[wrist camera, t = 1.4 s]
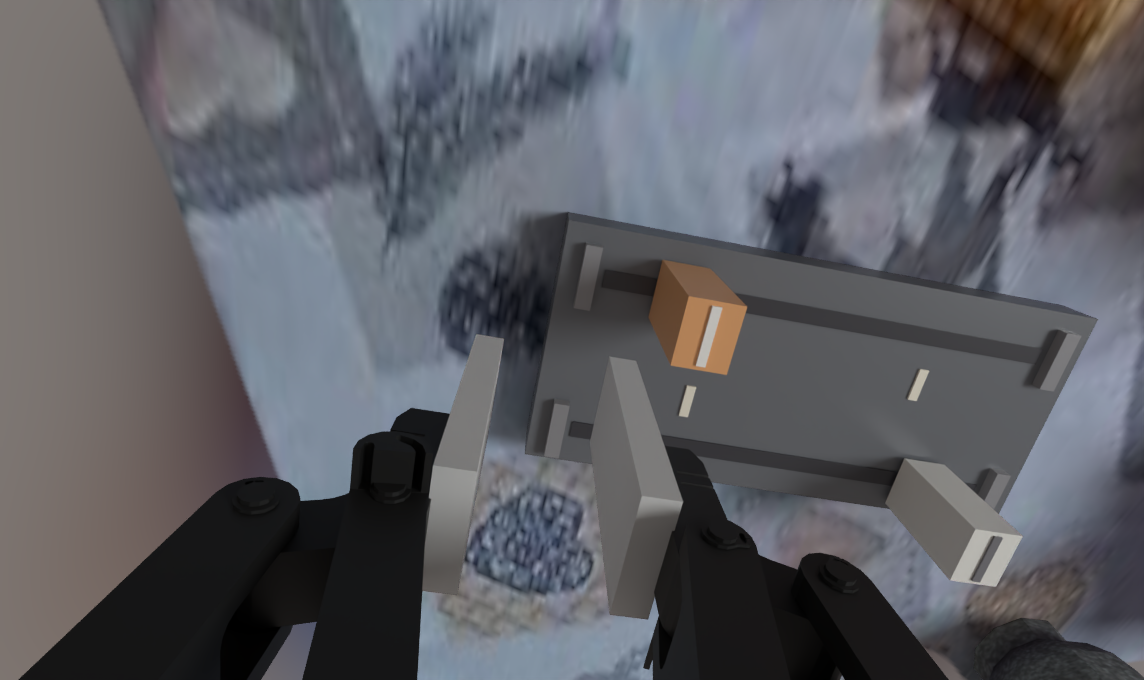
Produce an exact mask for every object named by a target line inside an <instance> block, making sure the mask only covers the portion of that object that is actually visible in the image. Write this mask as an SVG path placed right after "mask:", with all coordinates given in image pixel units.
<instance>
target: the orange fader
mask: <svg viewBox="0 0 1144 680" xmlns="http://www.w3.org/2000/svg"><path fill="white" fill-rule="evenodd" d="M746 310H747V306H746V305H745V304H744V303H743V302H742V301H741V300H740V299H739V298H738V296H737V295H736V294H735V293H734V292H733V291H732V290H731V289H730V288H729V287H728V286H727V285H726V284H725V283H724V282H723V281H722V280H721V279H720V278H719V277H718V276H717V275H716V274H715V273H714V272H713V271H712V270H711V269H710V268H705V267H700V266H694V265H689V264H683V263H678V262H672V261H667V260H662V264H661V268H660V272H659V276H658V280H657V284H656V288H655V292H654V297H653V301H652V305H651V309H650V313H649V317H648V318H649V320H650V322H651V324H652V326H653V329H654V331H655V333H656V335H657V337H658V339H659V342H660V344H661V346H662V348H663V350H664V353H665V355H666V357H667V359H668V361H669V363H670V366H676V367H682V368H688V369H694V370H700V371H706V372H712V373H718V374H724V375H727V372H728V369H729V366H730V362H731V359H732V356H733V353H734V349H735V346H736V343H737V339H738V336H739V333H740V329H741V326H742V323H743V319H744V316H745V313H746Z"/></svg>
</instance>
